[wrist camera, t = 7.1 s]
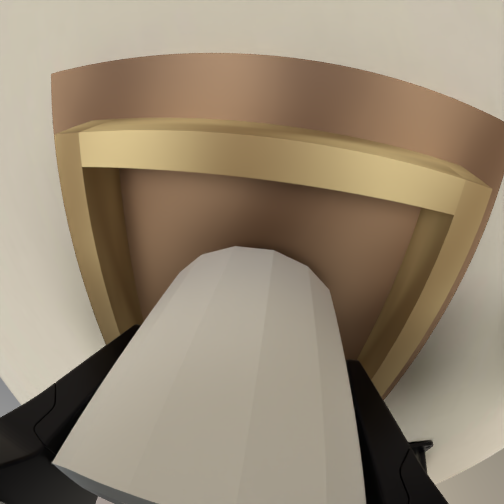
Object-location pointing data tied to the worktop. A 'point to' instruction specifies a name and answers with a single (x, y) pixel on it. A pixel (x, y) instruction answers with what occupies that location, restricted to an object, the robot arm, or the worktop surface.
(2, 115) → the worktop surface
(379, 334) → the holder
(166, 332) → the white cup
